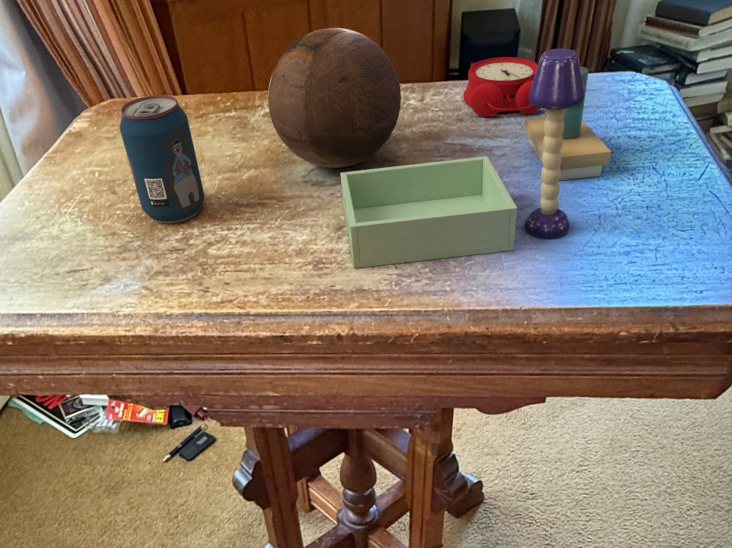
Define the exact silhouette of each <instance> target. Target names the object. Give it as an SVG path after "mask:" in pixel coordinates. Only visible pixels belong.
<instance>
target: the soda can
mask: <svg viewBox="0 0 732 548" xmlns="http://www.w3.org/2000/svg"><path fill="white" fill-rule="evenodd" d="M120 113H121V118H120V123H119V132H120V135H121V139H122V143H123V147H124V151H125V154H126V156H127V157H126V158H127V160H128V164H129V167H130V171H131V175H132V178H133V183H134V185H135V189H136V192H137V196H138V200H139V204H140V207H141V209H142V211H143V212H144V213H145V215H147V216H148V217H149V218H150V219H151V220H152V221H154V222H156V223H159V224H177V223H181V222H186V221H187V220H190V219H192V218H193V217H196V215H197V214H198V213H200V211H201V208H202V205H203V203H204V200H205V191H204V186H203V183H202V177H201V173H200V169H199V164H198V160H197V155H196V150H195V146H194V141H193V136H192V132H191V128H190V123H189V118H188V115H187V113H186V112H185V111H184V110H183V108H182V107H181V106H180V105H179V101H178V99H177V98H176V97H174V96H172V95H167V94H156V95H148V96H142V97H139V98H135V99H133V100H130V101H128V102H126V103H125V104H123V106H122V107H121V108H120Z"/></svg>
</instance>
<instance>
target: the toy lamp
mask: <svg viewBox="0 0 732 548" xmlns="http://www.w3.org/2000/svg"><path fill="white" fill-rule="evenodd" d="M537 64H538V67H537V70H536V73H535V76H534V80H533V83H532V86H531V89H530V93H529V101H530V103H531V104H532V105H534V106H536V107H538V108H541V109H543V110H544V113H545V116H546V117H547V119H546V121H545V124H544V131H545V134H546V135H545V137H544V140H543V147H544V150H545V151H544V152H543V155H542V162H541V163H542V166H543V167H542V169H541V172H540V177H541V181H542V182H541V185H540V195H541V196H540V197H541V198H540V202H539V207H538V208H535V209H534V210H532V211H531V212H530V213H529V214H528V216H527V217H526V220H525V222H524V230H525V231H526V233H527V234H529V235H531V236H533V237H536V238H541V239H556V238H560V237H563V236H564V235H566V234H567V233H568V232H569V231H570V227H571V226H570V220H569V217H568V216H567V214H566V213H565V212H564V211H563V210H562V209H560V208H559V206H560V205H559V203H560V202H559V198H558V196H559V194H560V181H561V180H560V176H561V170H560V167H559V166H560V164H561V161H562V154H561V151H560V150H561V149H562V146H563V138H562V133H563V131H564V120H563V117H564V115H565V112H566V108H571V107H574V106H576V105H578V104H580V103H581V102H582V101H583V99H584V95H585V96H586V93H584V86H583V80H582V74H581V68H580V66H581V63H580V58H579V55H578V53H577V51H575V50H574V49H570V48H553V49H549V50H546V51H544V52H543V53H542V54H541V55H540V58H539V61H538V63H537ZM559 180H560V181H559Z"/></svg>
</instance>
